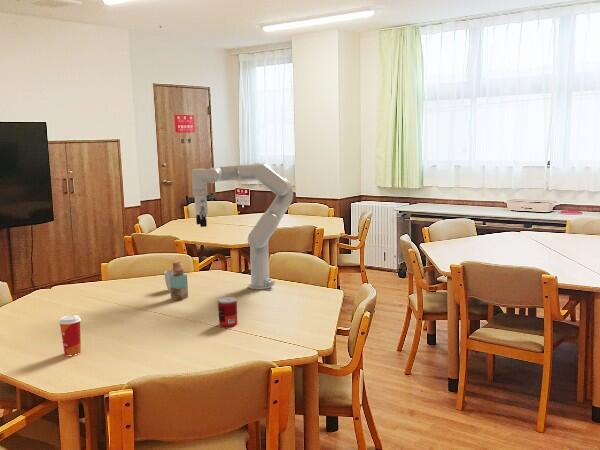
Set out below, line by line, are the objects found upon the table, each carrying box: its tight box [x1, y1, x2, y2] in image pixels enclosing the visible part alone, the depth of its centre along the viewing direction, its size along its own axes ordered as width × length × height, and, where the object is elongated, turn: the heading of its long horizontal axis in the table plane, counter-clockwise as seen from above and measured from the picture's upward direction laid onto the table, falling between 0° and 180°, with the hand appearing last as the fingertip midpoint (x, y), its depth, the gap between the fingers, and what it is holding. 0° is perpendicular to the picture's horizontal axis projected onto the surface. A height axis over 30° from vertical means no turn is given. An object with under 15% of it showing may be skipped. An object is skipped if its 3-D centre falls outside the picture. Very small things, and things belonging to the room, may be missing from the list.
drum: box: [172, 261, 185, 276], centre depth 297 cm, size 5×5×6 cm
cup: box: [163, 269, 173, 292], centre depth 315 cm, size 8×8×10 cm
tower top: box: [170, 273, 189, 289], centre depth 298 cm, size 6×6×6 cm
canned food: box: [217, 296, 238, 328], centre depth 256 cm, size 8×8×11 cm
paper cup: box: [58, 314, 82, 356], centre depth 225 cm, size 8×8×14 cm
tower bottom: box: [170, 287, 189, 302], centre depth 299 cm, size 6×6×6 cm
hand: (201, 225), depth 314 cm, fingers open, 9 cm apart
